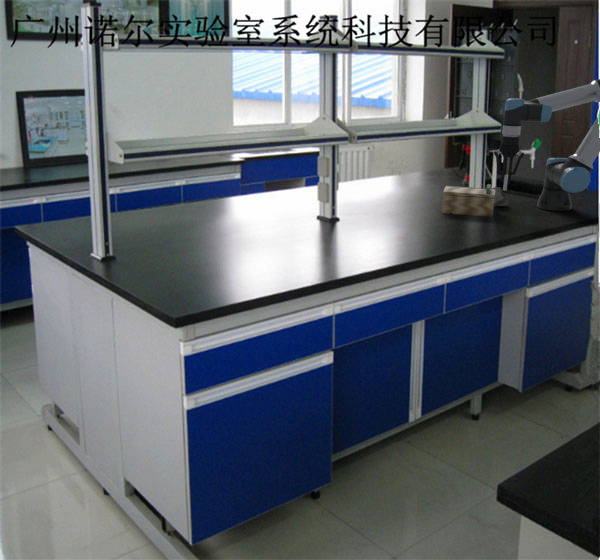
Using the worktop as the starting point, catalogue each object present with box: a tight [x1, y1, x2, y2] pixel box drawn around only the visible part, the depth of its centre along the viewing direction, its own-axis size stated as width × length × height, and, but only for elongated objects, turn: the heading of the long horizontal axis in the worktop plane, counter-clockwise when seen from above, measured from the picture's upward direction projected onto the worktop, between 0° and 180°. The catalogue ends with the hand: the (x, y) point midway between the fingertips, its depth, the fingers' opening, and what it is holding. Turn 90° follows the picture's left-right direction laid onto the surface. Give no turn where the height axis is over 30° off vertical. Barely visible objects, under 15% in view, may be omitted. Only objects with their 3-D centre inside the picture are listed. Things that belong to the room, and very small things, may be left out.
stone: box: [490, 186, 510, 207], centre depth 331 cm, size 10×10×10 cm
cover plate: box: [443, 183, 495, 195], centre depth 317 cm, size 22×12×4 cm, turn 74°
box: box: [441, 185, 495, 218], centre depth 319 cm, size 22×14×10 cm, turn 74°
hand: (504, 189), depth 313 cm, fingers closed
